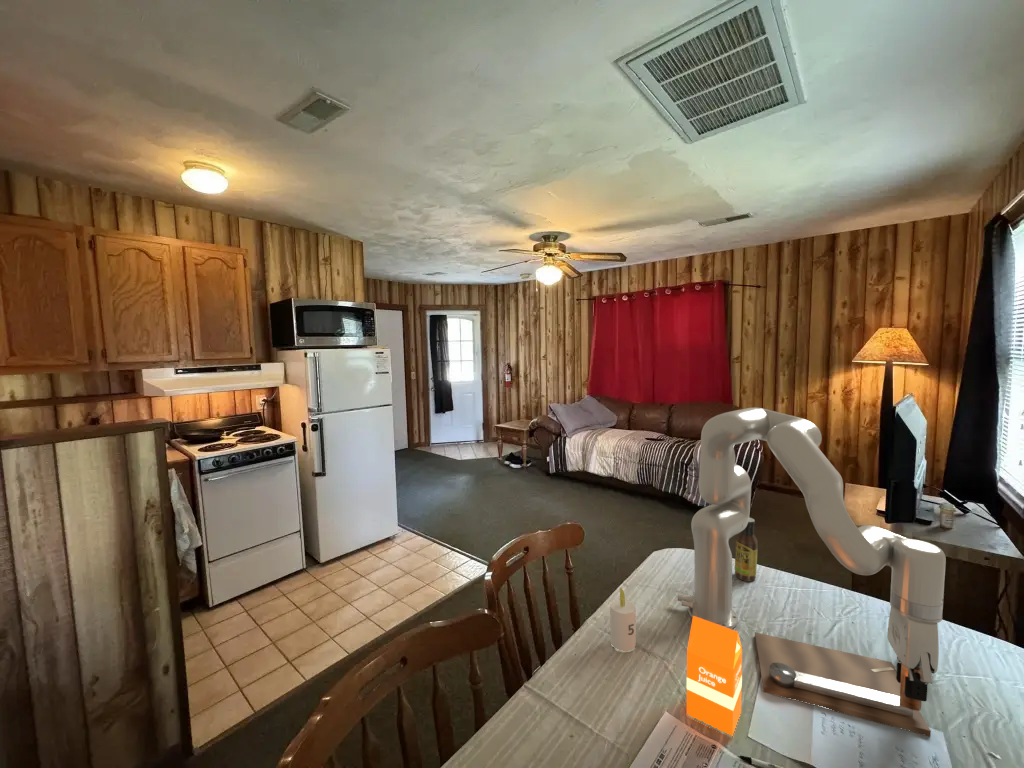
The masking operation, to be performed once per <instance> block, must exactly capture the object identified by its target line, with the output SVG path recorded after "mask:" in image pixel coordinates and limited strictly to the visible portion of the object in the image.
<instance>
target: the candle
mask: <svg viewBox="0 0 1024 768" xmlns="http://www.w3.org/2000/svg"><path fill="white" fill-rule="evenodd" d="M609 606H610V607H609V608H610V609H609V610H610V611H609V613H610V617H609V619H610V621H609V622H610V624H609V625H610V631H609V632H610V645H611V644H612V645H613V646H614V647H615V648H617V649H619V650H623V651H629V650H632V649H634V648H635V646H636V647H637V645H636V640H637V639H636V635H637V633H636V632H637V631H636V627H637V625H636V624H637V623H636V617H637V615H636V605H635V603H633V601H631V600H629V599H626V596H625V593H624V589H623V588H622V587H620V588H619V598H616V599H613V600H612V601H610V604H609ZM635 649H636V648H635Z"/></svg>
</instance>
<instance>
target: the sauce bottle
mask: <svg viewBox="0 0 1024 768" xmlns="http://www.w3.org/2000/svg"><path fill="white" fill-rule="evenodd" d="M755 524H756V521H755V519H754V518H752V517H750V516H749V521H748V524H747V526H746V528H745V529H744V530H743V531H741V532H740V533H738V534H737V535H736V540H735V556H734V575H735V577H737V578H738V579H739V580H742V581H744V582H754V581H755V580H756V578H757V577H756V576H757V570H758V569H757V568H758V567H757V566H758V565H757V563H758V550H759V549H758V543H759V542H758V539H757V537H756V534H755Z"/></svg>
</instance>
